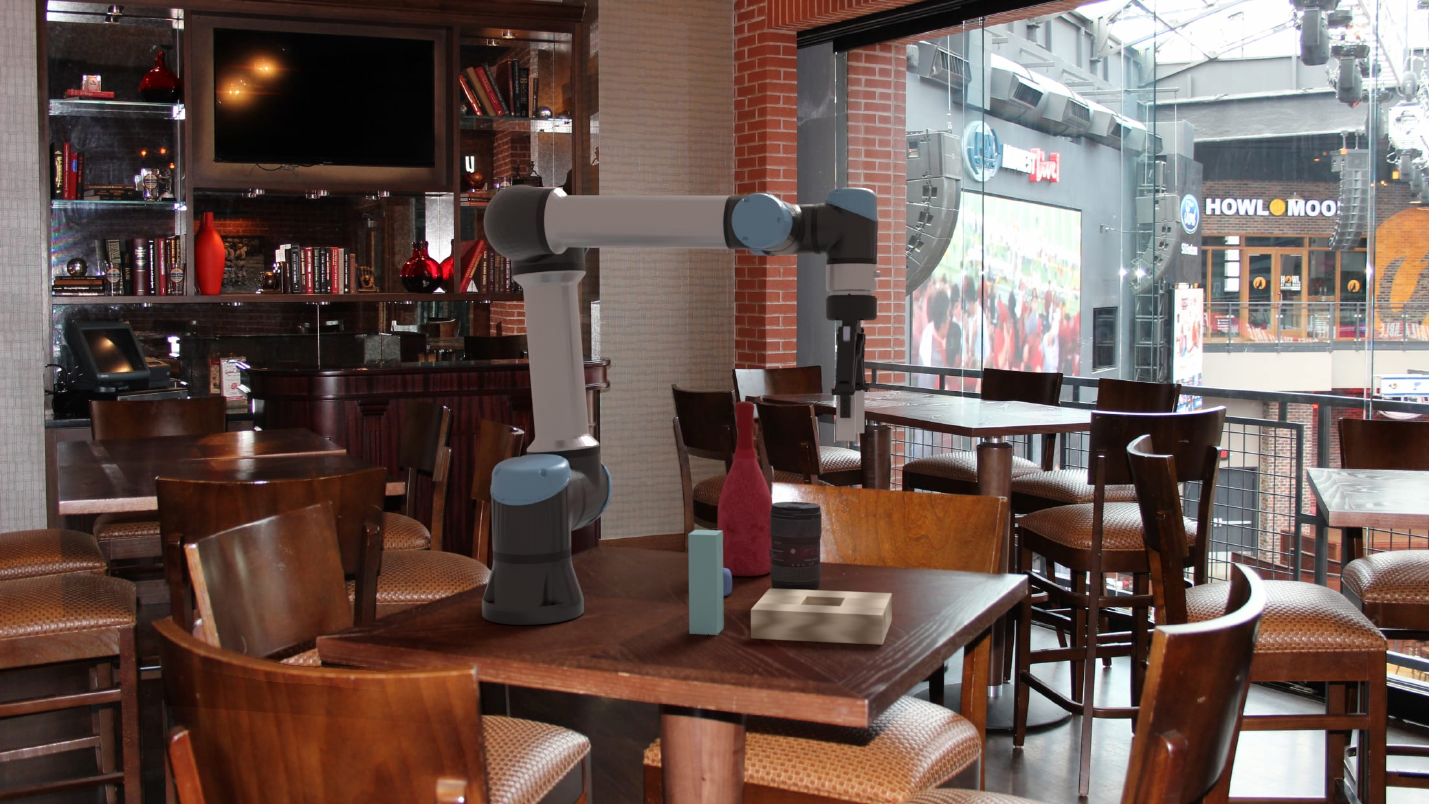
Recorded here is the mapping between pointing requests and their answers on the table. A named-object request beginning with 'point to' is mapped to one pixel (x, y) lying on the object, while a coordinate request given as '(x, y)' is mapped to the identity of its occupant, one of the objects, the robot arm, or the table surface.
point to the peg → (706, 582)
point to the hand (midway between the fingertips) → (850, 436)
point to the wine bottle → (745, 505)
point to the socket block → (822, 616)
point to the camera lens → (795, 545)
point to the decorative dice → (727, 582)
